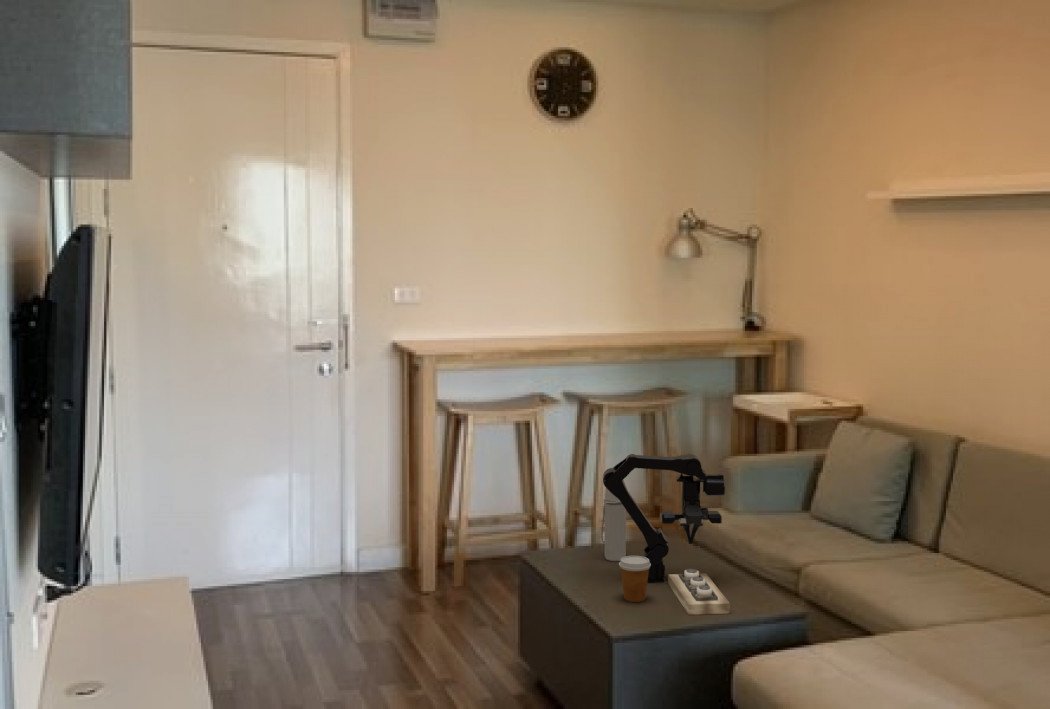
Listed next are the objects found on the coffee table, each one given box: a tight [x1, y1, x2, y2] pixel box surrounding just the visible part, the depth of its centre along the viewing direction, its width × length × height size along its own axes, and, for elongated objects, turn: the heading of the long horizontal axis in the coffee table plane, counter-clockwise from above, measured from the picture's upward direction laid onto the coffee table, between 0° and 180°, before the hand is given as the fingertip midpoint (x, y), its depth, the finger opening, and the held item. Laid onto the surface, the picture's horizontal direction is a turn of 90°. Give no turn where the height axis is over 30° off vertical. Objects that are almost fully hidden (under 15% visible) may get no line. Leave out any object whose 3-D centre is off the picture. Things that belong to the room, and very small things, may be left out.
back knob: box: [683, 568, 700, 580], centre depth 329 cm, size 4×4×3 cm
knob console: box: [667, 572, 731, 616], centre depth 321 cm, size 12×28×4 cm, turn 4°
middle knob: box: [690, 577, 705, 588], centre depth 321 cm, size 4×4×3 cm
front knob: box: [697, 585, 712, 597], centre depth 313 cm, size 4×4×3 cm
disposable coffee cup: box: [618, 555, 651, 603], centre depth 321 cm, size 10×10×12 cm
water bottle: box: [600, 487, 627, 562], centre depth 361 cm, size 9×8×25 cm
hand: (690, 543), depth 338 cm, fingers closed
